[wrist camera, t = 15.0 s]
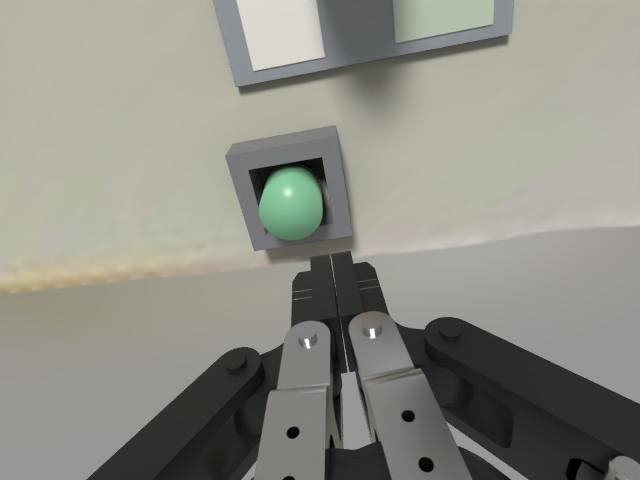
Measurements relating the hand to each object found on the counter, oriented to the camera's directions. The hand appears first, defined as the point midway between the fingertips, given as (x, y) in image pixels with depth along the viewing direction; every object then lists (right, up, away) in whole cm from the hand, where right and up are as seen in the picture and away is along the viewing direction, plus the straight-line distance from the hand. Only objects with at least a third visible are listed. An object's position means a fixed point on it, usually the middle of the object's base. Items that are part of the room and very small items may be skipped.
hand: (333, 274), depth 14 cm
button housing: (-3, +6, +17) cm, 18 cm away
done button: (-3, +5, +16) cm, 17 cm away
